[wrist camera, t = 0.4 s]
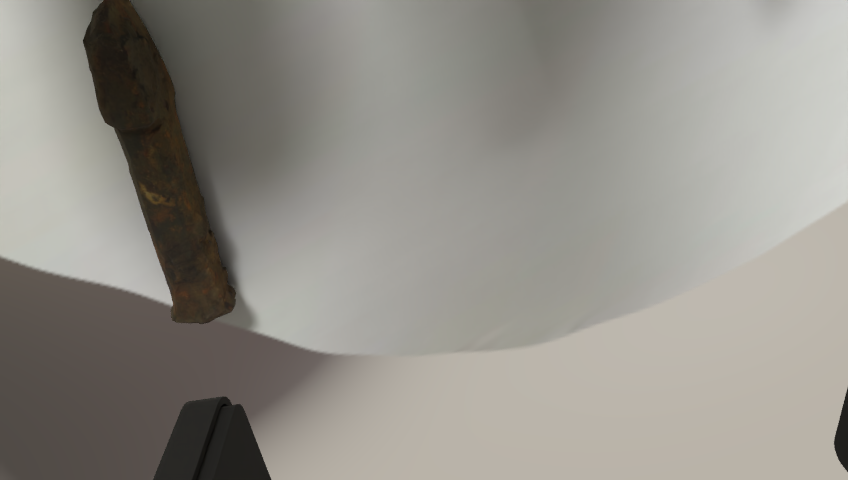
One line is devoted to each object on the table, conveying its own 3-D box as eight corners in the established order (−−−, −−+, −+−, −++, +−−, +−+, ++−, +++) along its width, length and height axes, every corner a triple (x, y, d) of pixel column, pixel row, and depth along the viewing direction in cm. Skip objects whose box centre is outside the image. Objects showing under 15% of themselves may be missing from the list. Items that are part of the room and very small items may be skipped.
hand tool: (243, 290, 41) (228, 332, 37) (183, 294, 41) (161, 337, 37) (178, -12, 32) (148, 0, 28) (100, -8, 32) (59, 4, 28)
